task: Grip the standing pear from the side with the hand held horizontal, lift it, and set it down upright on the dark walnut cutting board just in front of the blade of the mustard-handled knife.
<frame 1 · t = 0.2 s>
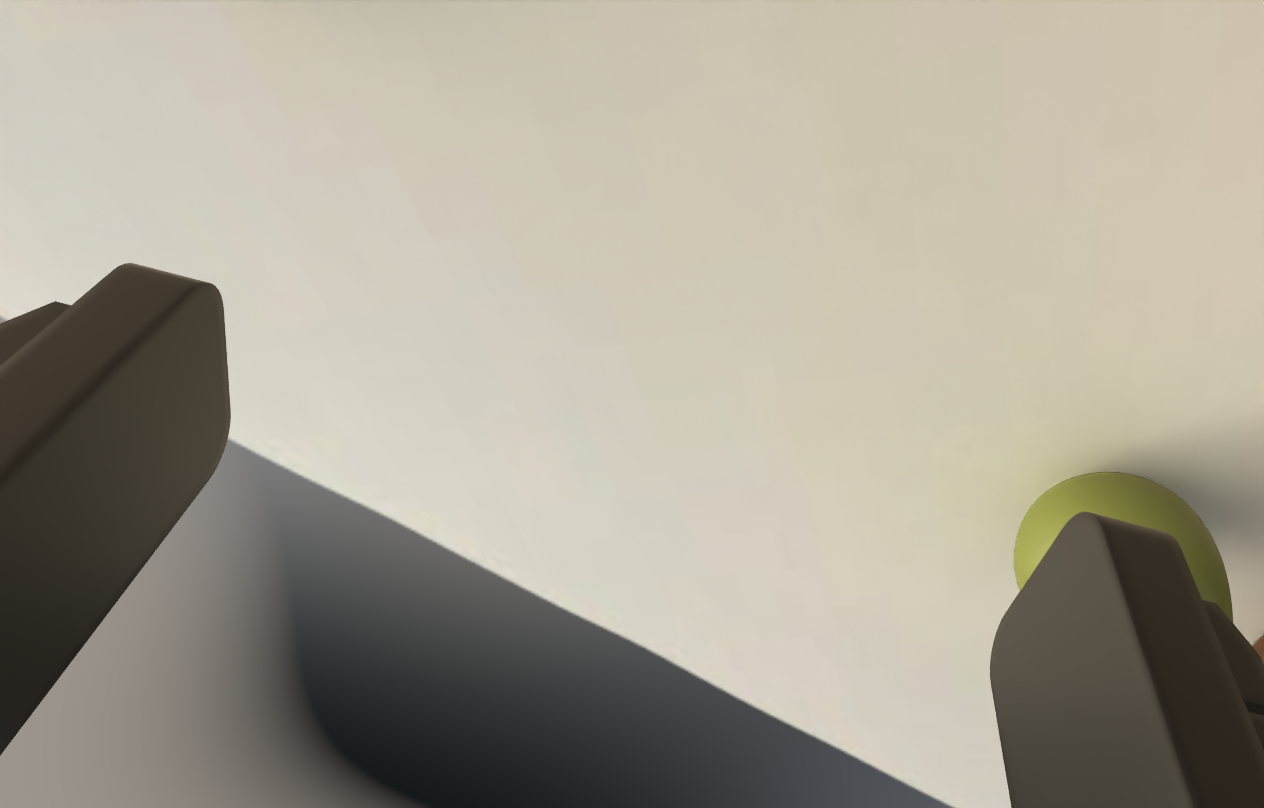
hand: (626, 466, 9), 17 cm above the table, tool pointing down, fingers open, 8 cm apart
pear: (1091, 496, 31), on the table
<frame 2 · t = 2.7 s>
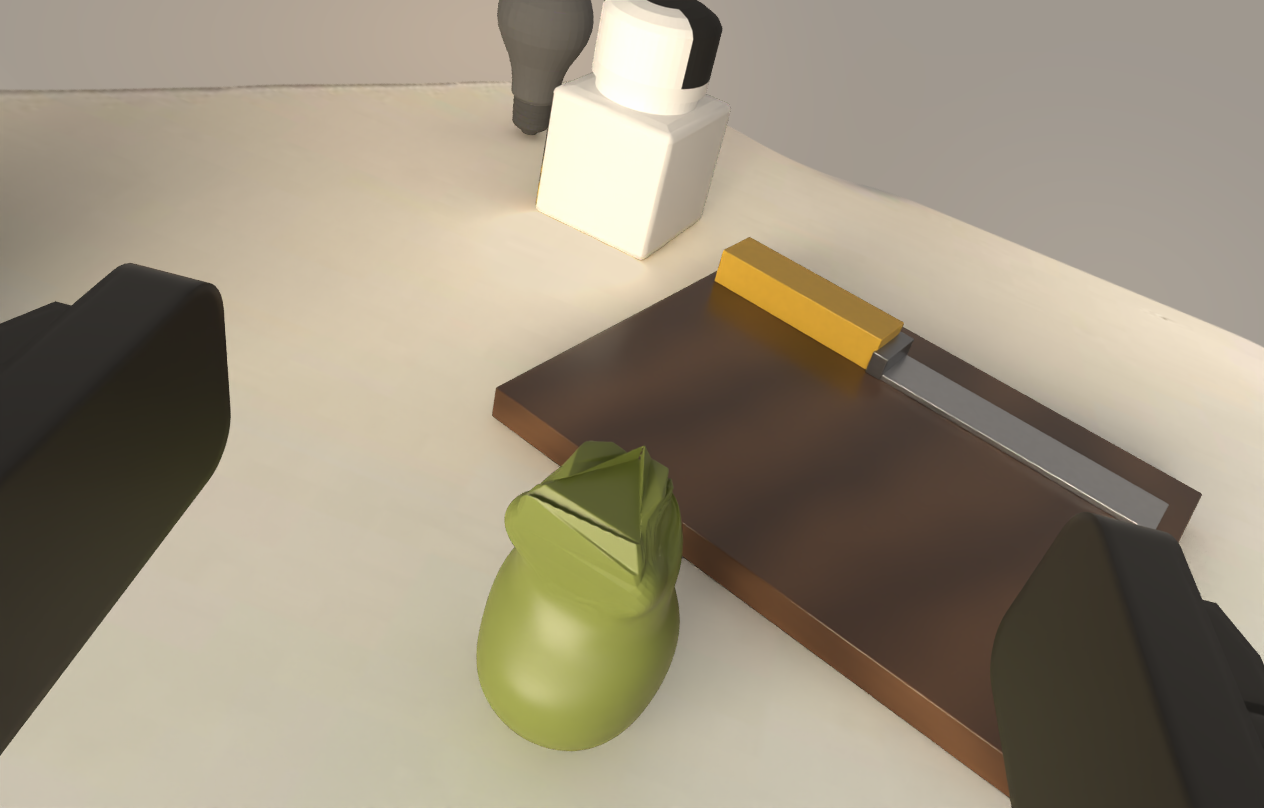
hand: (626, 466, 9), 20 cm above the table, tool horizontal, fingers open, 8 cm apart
cutting board: (855, 469, 42), on the table
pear: (555, 707, 30), on the table
light bulb: (528, 136, 62), on the table
medicine bottle: (619, 218, 56), on the table
knife: (926, 389, 45), resting on cutting board
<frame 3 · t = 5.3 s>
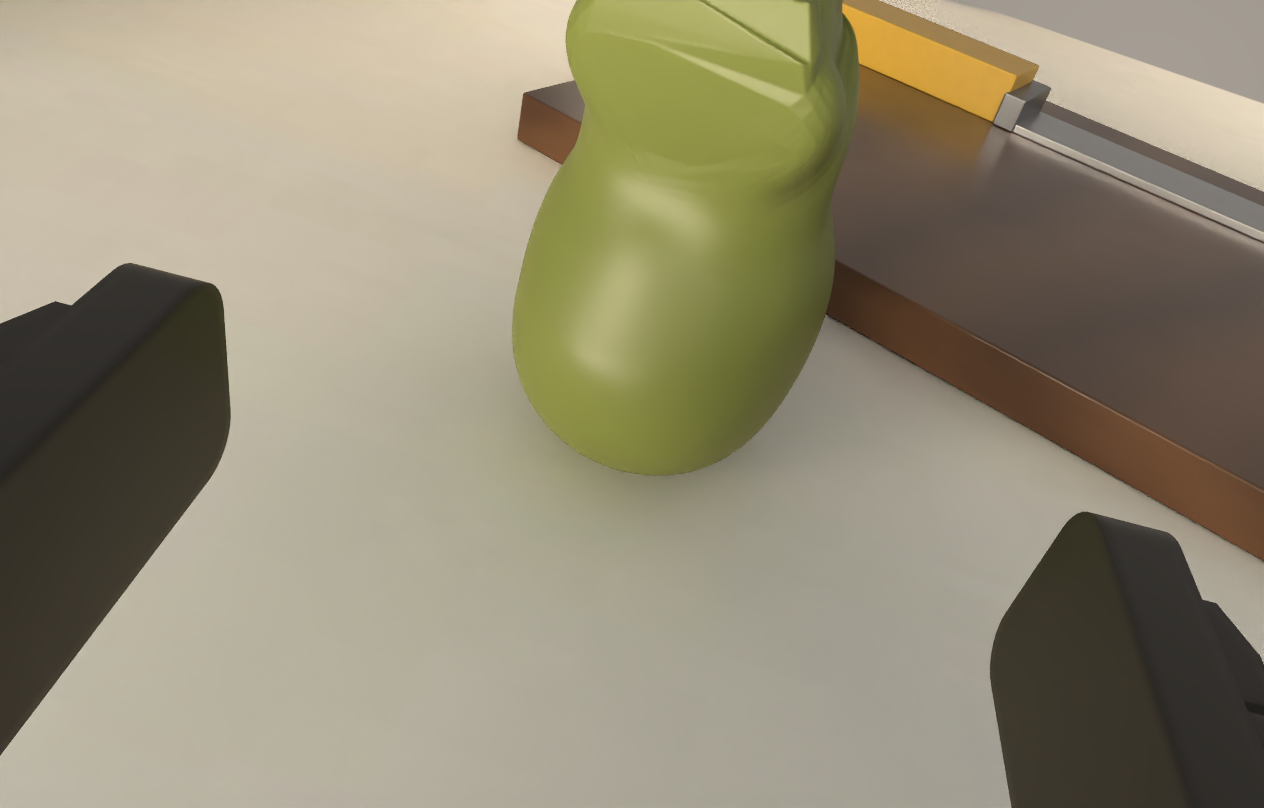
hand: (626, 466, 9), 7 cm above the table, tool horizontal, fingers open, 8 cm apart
cutting board: (992, 226, 32), on the table
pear: (627, 442, 20), on the table
knife: (1071, 145, 35), resting on cutting board
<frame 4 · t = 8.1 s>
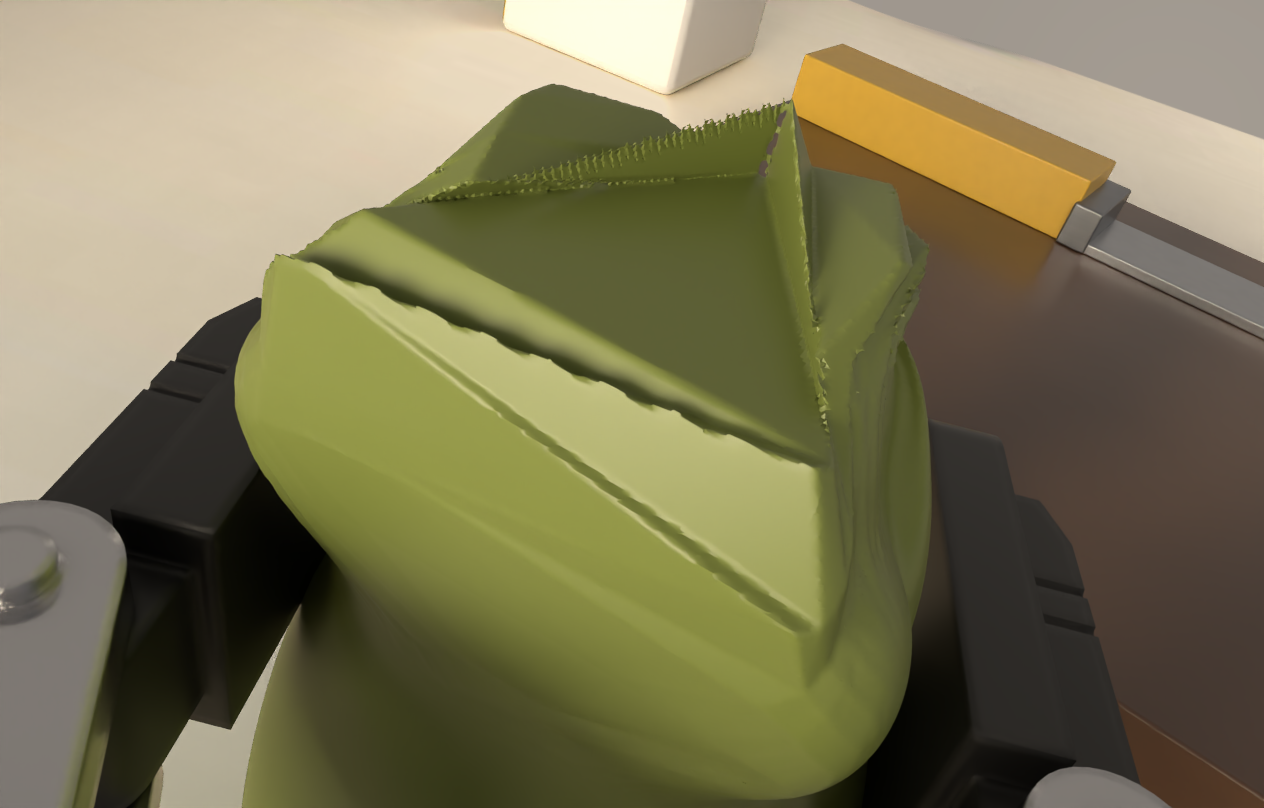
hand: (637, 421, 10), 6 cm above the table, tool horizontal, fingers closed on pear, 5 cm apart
cutting board: (1064, 398, 23), on the table
medicine bottle: (630, 49, 37), on the table
knife: (1160, 270, 27), resting on cutting board
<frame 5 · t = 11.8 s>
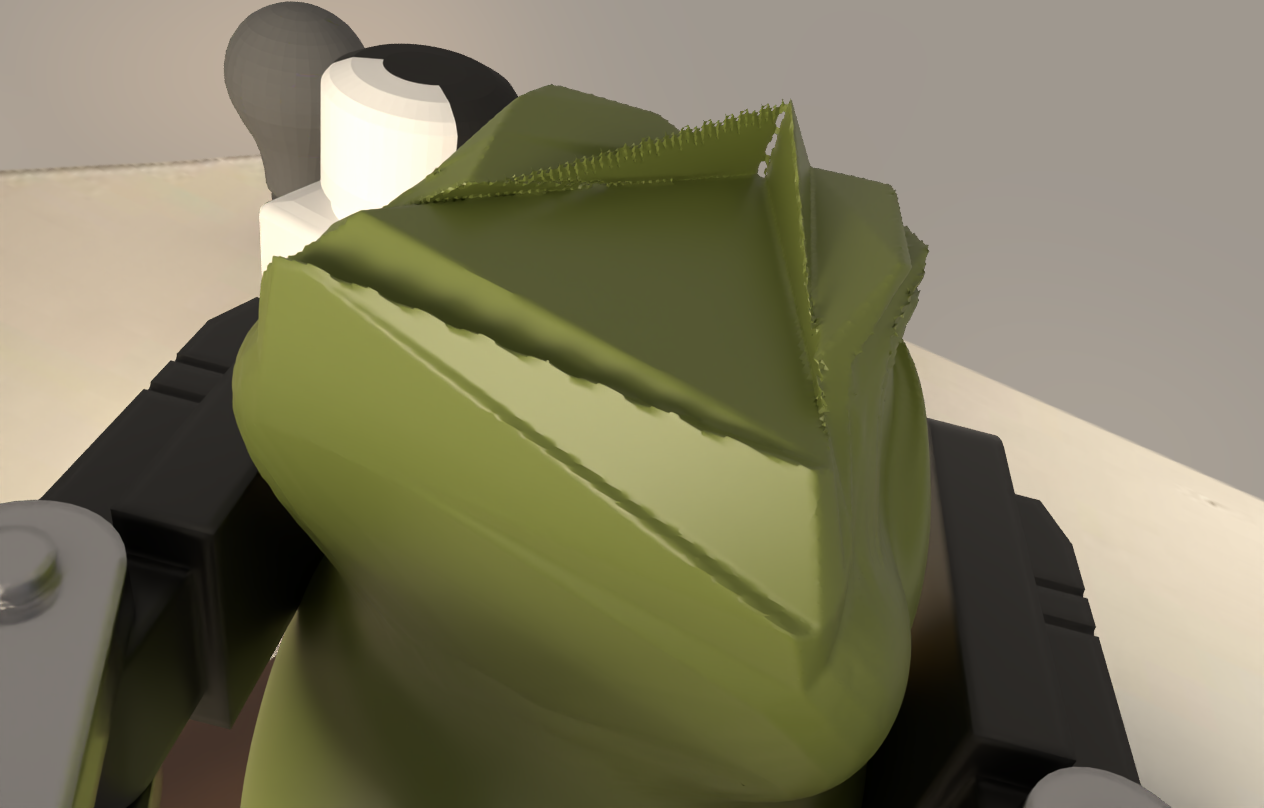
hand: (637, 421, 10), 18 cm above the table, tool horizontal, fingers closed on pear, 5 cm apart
light bulb: (302, 241, 43), on the table
medicine bottle: (403, 381, 37), on the table
when the fingers open (8 cm above the table, at t = 15.6 s): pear stays where it is, resting on cutting board.
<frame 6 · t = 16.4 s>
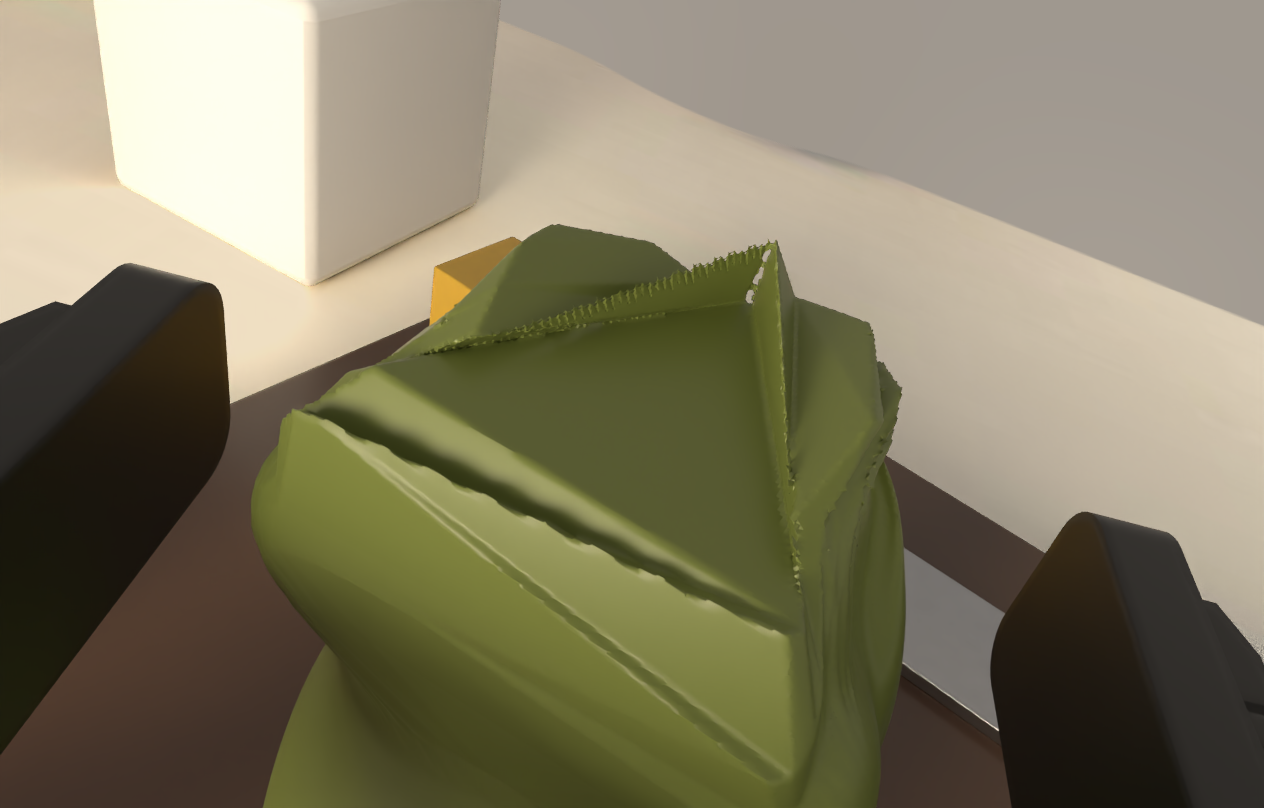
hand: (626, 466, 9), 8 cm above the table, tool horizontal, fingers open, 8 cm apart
medicine bottle: (307, 203, 28), on the table
knife: (902, 614, 18), resting on cutting board
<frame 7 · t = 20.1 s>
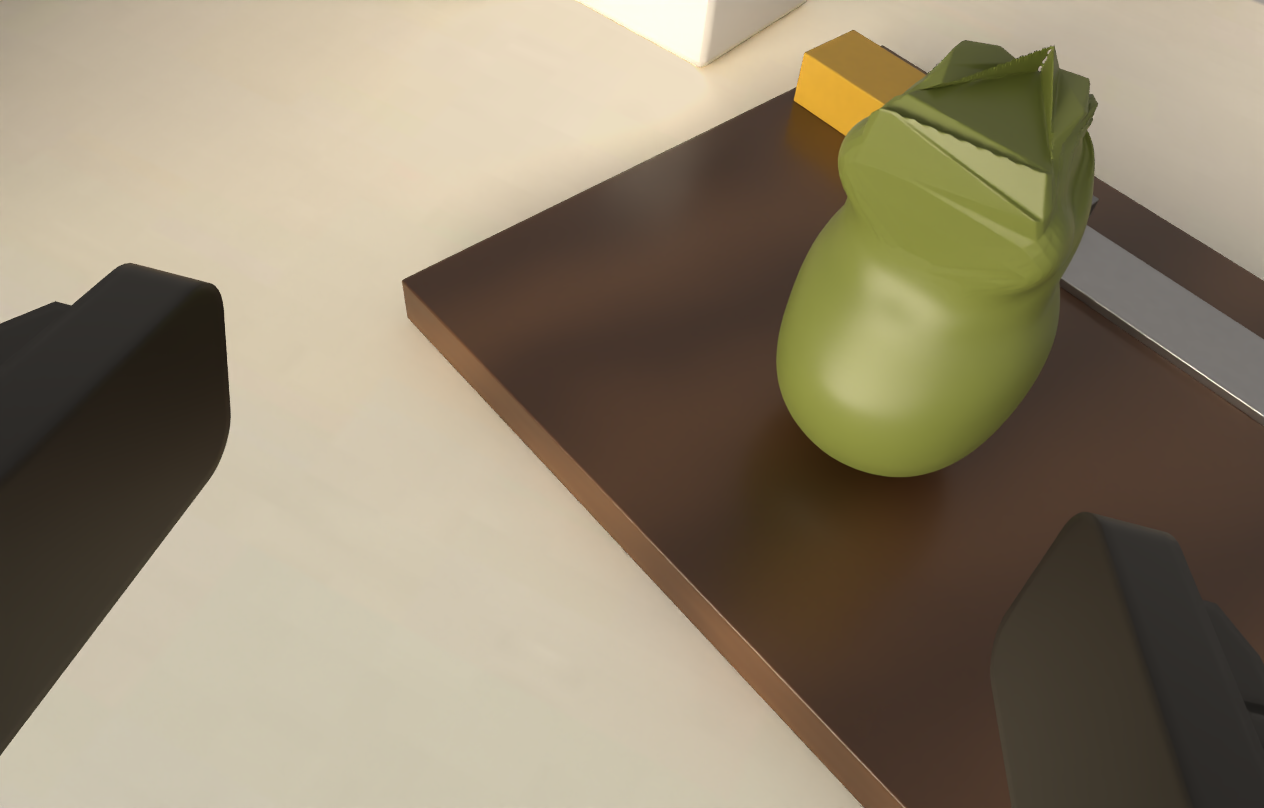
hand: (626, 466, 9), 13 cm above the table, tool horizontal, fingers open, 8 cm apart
cutting board: (963, 415, 27), on the table
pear: (864, 431, 25), point 1 cm above the table, touching cutting board
medicine bottle: (686, 4, 39), on the table
knife: (1108, 283, 28), resting on cutting board
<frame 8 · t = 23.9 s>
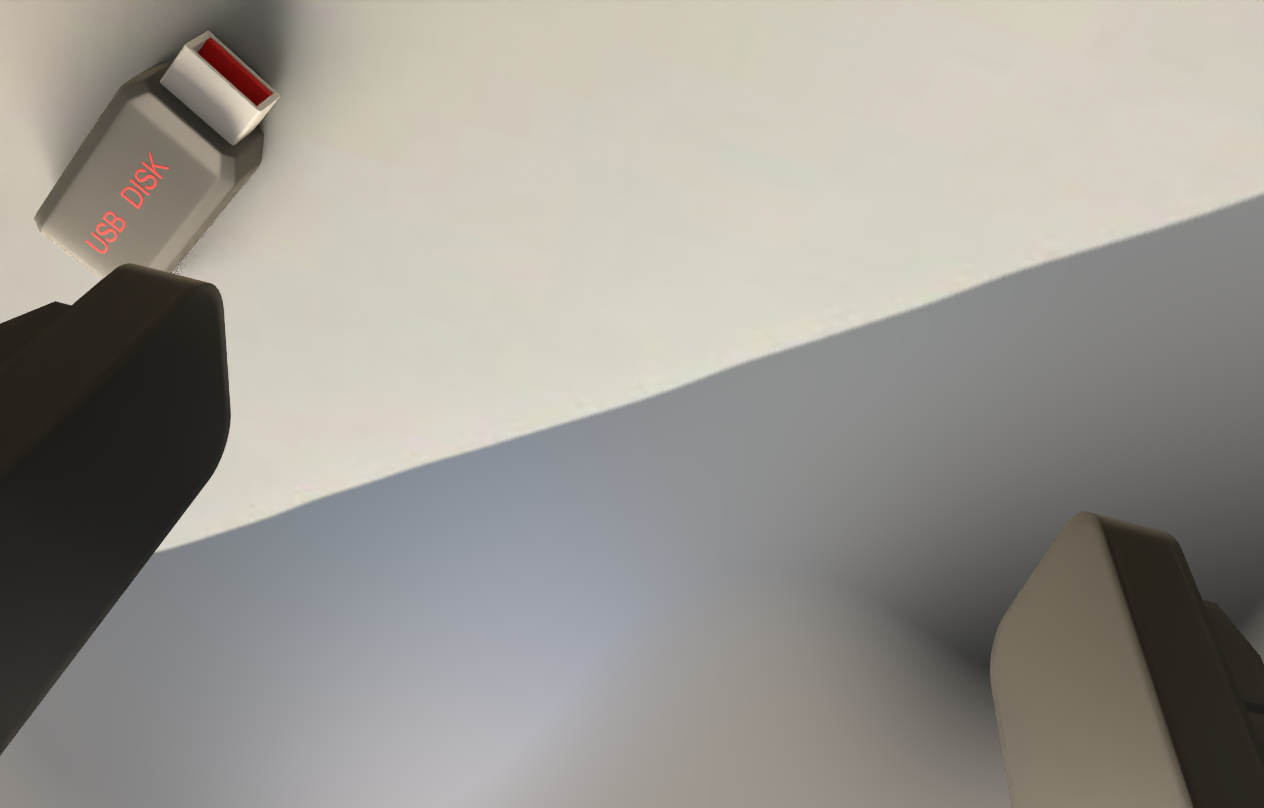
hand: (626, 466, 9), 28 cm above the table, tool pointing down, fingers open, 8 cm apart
usb drive: (176, 158, 41), on the table
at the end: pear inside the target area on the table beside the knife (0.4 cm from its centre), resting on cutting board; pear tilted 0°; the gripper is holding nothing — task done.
